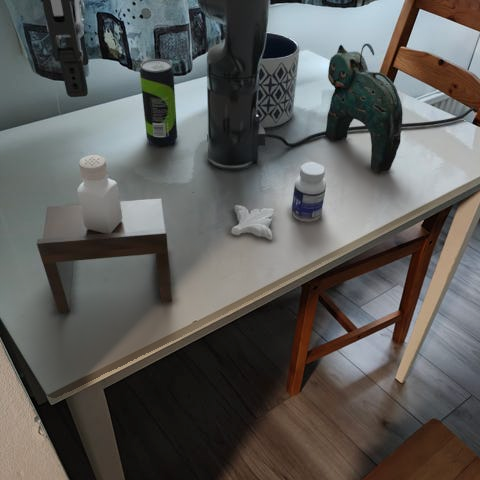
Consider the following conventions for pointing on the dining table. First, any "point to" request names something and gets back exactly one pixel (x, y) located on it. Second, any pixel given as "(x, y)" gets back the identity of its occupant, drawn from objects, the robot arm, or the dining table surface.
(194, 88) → the dining table surface
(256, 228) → the acanthus leaf ornament
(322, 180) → the pill bottle
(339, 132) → the ceramic cat
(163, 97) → the beverage can
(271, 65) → the planter
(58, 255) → the wooden table
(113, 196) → the salt shaker
